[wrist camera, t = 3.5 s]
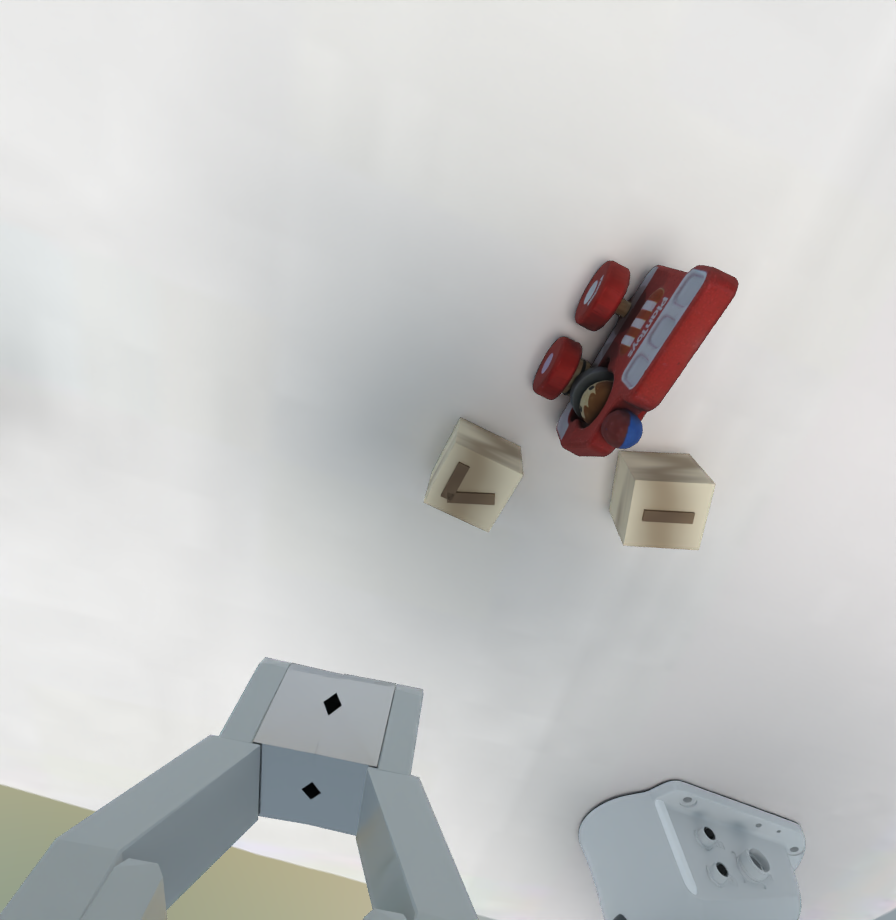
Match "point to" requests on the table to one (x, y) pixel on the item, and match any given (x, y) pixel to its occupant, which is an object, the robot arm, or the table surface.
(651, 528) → the maple cube one
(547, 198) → the table surface
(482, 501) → the maple cube seven
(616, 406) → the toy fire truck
